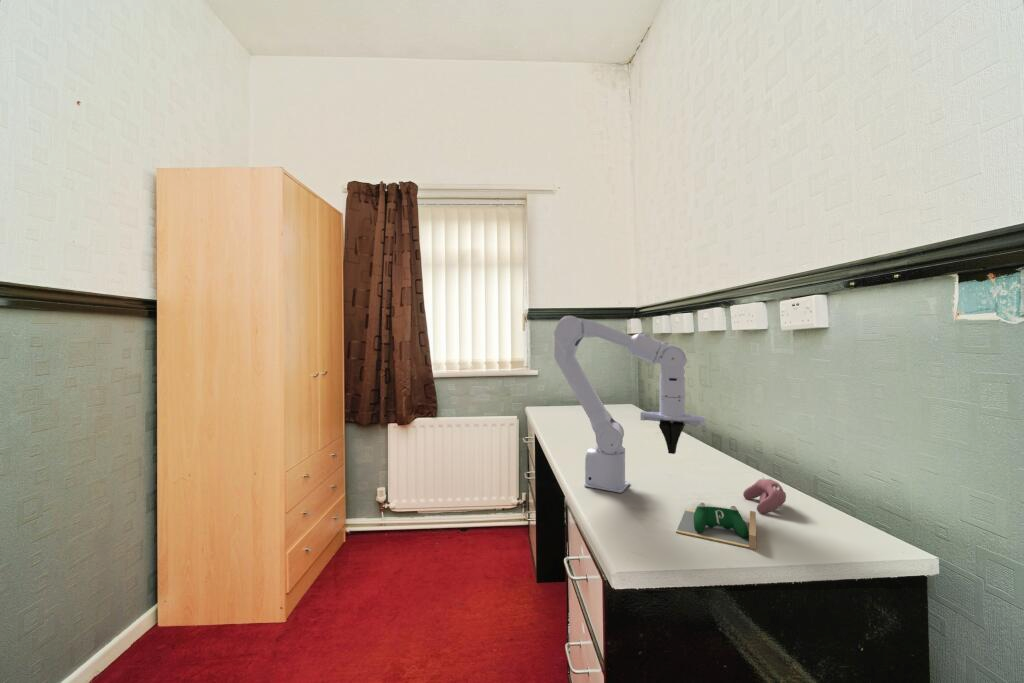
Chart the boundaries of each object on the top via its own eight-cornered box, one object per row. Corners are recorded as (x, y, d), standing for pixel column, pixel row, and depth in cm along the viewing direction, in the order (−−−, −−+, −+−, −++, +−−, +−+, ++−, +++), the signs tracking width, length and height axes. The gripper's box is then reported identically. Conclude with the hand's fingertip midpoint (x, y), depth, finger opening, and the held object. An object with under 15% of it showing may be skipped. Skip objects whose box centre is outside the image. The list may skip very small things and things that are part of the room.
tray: (676, 532, 79) (676, 519, 79) (685, 510, 90) (685, 499, 90) (755, 549, 73) (755, 536, 73) (755, 523, 83) (755, 511, 83)
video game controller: (777, 523, 87) (794, 494, 87) (756, 511, 88) (772, 483, 88) (759, 505, 97) (774, 478, 96) (740, 495, 98) (755, 468, 97)
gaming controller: (747, 544, 78) (741, 513, 82) (750, 536, 76) (744, 504, 80) (693, 537, 81) (690, 507, 85) (694, 529, 78) (692, 498, 82)
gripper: (637, 395, 101) (637, 452, 101) (703, 400, 94) (703, 461, 94) (644, 392, 107) (644, 446, 107) (706, 396, 100) (706, 453, 100)
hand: (672, 452), depth 101 cm, fingers closed
